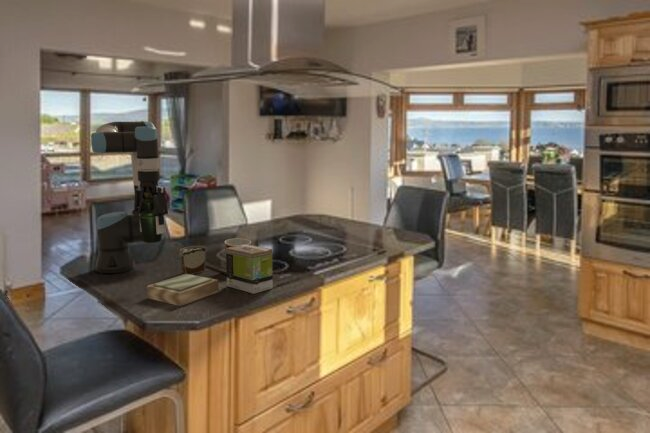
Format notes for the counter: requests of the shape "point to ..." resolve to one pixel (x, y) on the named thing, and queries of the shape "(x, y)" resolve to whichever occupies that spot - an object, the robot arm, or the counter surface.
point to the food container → (193, 259)
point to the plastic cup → (236, 242)
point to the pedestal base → (182, 289)
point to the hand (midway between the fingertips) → (152, 232)
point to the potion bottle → (149, 222)
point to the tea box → (249, 268)
